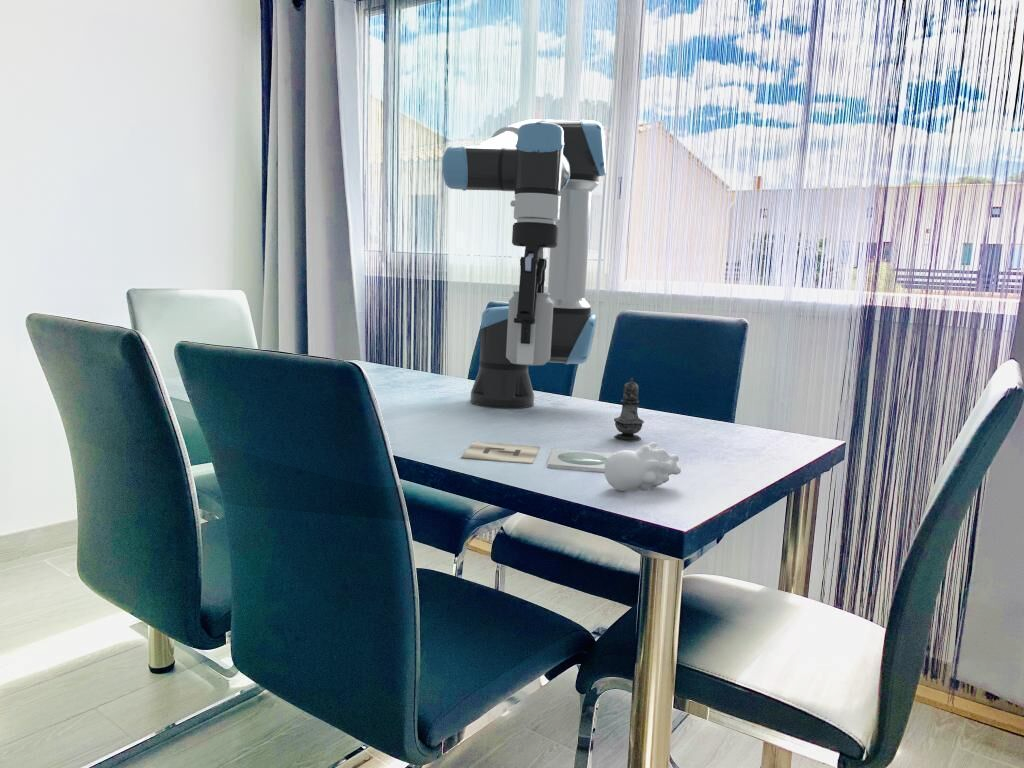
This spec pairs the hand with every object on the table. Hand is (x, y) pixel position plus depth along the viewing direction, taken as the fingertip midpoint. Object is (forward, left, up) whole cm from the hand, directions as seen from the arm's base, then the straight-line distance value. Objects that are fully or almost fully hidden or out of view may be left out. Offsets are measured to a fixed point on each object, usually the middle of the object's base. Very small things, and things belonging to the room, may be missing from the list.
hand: (528, 360), depth 126 cm
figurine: (+14, +19, -17) cm, 29 cm away
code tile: (-1, -4, -16) cm, 17 cm away
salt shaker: (-21, +18, -17) cm, 32 cm away
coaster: (+1, +10, -16) cm, 19 cm away
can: (0, 0, -1) cm, 1 cm away
